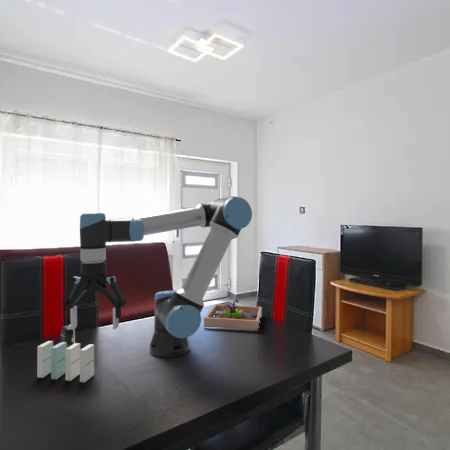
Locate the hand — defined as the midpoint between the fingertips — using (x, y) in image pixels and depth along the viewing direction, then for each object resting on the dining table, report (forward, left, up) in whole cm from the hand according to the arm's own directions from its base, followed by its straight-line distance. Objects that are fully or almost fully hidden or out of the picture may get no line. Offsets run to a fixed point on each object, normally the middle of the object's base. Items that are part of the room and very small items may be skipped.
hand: (94, 328), depth 104 cm
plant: (-35, -67, -17) cm, 78 cm away
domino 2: (+7, 0, -16) cm, 18 cm away
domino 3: (+2, 0, -16) cm, 16 cm away
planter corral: (-36, -67, -16) cm, 77 cm away
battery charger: (+18, -13, -16) cm, 28 cm away
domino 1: (+12, 0, -16) cm, 20 cm away
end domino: (+17, 0, -16) cm, 24 cm away
